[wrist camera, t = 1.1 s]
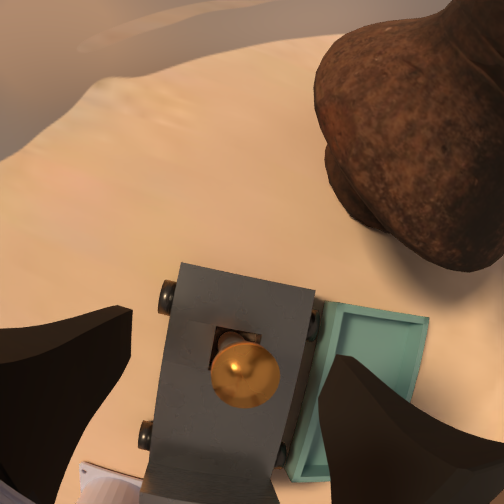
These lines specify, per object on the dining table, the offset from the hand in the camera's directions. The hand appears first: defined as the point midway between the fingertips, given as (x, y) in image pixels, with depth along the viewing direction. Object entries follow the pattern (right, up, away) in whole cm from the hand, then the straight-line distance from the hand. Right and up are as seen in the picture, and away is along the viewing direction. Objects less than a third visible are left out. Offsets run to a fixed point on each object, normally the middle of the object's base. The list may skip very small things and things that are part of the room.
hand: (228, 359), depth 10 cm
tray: (+9, -8, +13) cm, 18 cm away
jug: (+13, +11, +16) cm, 23 cm away
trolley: (-1, -6, +12) cm, 13 cm away
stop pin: (-1, -3, +12) cm, 12 cm away
